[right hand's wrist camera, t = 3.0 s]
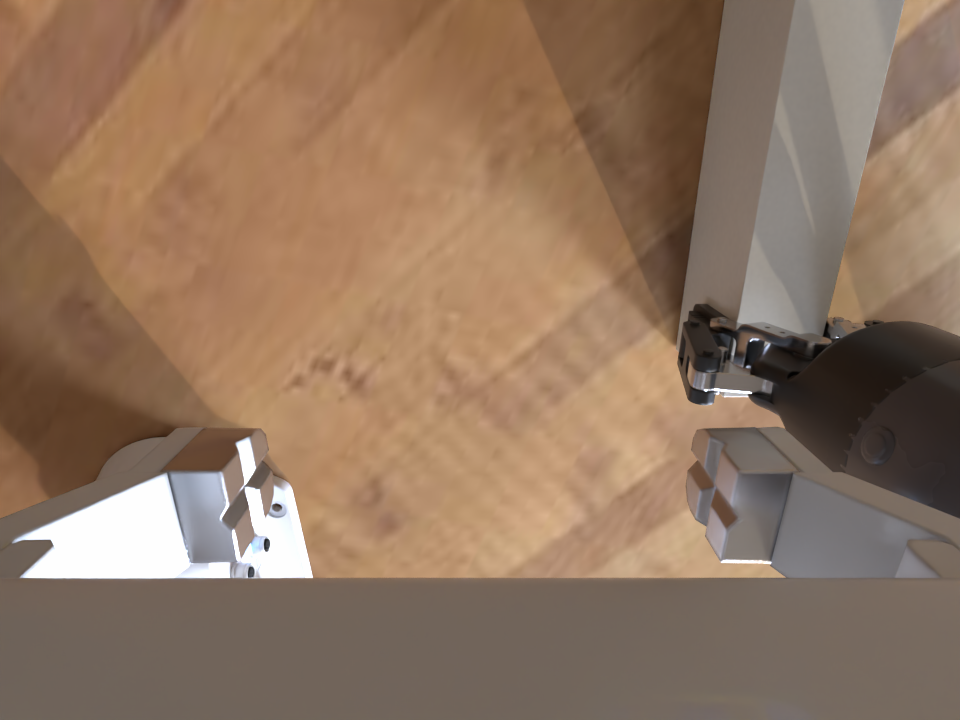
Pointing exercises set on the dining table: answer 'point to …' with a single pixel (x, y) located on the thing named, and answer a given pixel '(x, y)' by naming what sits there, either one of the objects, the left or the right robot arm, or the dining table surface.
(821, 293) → the bar
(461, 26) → the dining table surface
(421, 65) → the dining table surface
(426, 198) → the dining table surface
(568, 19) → the dining table surface
